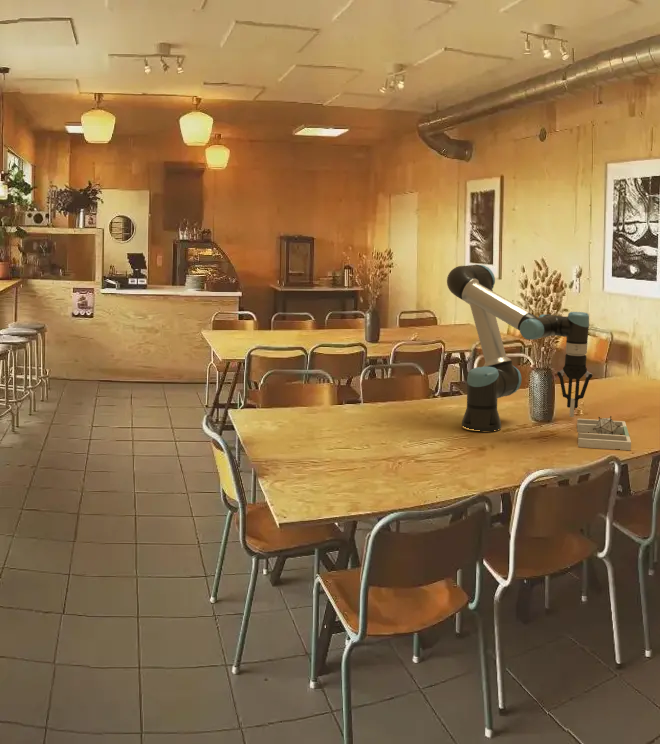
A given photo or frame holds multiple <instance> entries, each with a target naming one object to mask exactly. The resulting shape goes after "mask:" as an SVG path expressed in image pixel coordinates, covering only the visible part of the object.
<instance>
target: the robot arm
mask: <svg viewBox="0 0 660 744" xmlns="http://www.w3.org/2000/svg"><path fill="white" fill-rule="evenodd" d="M446 277H447V278H446V286H447V288H448V290H449V291H450V293H452V294H453V295H454V296H455V297H457V298H458V299H460V300H462V301H464V303H466V304H469V306H470V310H471V313H472V318H473V321H474V324H475V328H476V332H477V333H476V334H477V337H478V339H479V342H480V346H481V347H480V348H481V351H482V356H483V358H484V363H483V365H482V366H477V367H474V368H472V369H470V370H468V373H467V379H466V383H467V384H466V385H467V388H466V409H465V412H464V415H463V417H462V421H461V427H462V426H464V427H466V428H469V429H474V430H480V431H494V430H498V429H500V428H501V429H502V422H501V418H500V415H499V411H498V399H500V398H503V397H508V396H511V395H513V394H514V393H516V392H517V391H519V389H520V387H521V385H522V380H523V379H522V374H521V371H520V370H519V369H518V368H517V367H516V366H514V365H513V362H512V359H511V358H510V357H507V354H506V351H505V350H506V349H505V347H504V342H503V339H502V335H501V331H500V327H499V324H498V321H497V318H498V319H499V320H501V321H503V322H505V323H506V324H507V325H510V326H511V327H513V328H514V329H516V330H518V331H519V333H520V335H521V336H522V337H523V339H525V340H532V341H533V340H539V339H542V338H547V337H553V336H557V337H564V338H566V340H565V341H566V343H565V353H566V354H565V356H564V357H565V358H564V366H563V367H562V369H561V370H557V372H556V375H557V377H558V379H559V384H560V389H561V394H562V397H563V398H566V401H567V402H566V407H567V408H568V409H569V418H575V409H577V408H578V406H579V400H581V399H584V396H585V394H586V391H587V388H588V385H589V382H590V380H591V379H592V377H593V373H592V372H590V371H588V369H587V353H588V345H589V344H588V339H589V327H590V314H588V312H584V311H583V312H582V311H570V312H569V313H568V315H567V316H563V315H556V314H555V315H554V314H543V313H542V314H540V315H539V316H536V315H534V314H532V313H530V312H529V311H527V310H526V309H524V308H523V307H520V306H518V305H517V304H515V303H514V302H512V301H510V300H508V299H506V298H505V297H503V296H502V295H500V294H499V293H496V292H495V291H493V289H494V285H495V283H496V278H495V274H494V272H493V271H492V270H491V268H489V267H488V266H486V265H483V264H471V265H469V264H467V265H459V266H455V267H454V268H452V270H450V271H449V272H448V275H447V276H446ZM563 376H566V377H567V378H568V386H567V387H568V388H567V391H566V386H565V381H564V377H563ZM584 376H585V379H584V382H583V385H582V388H581V392H580V379H582V378H583V377H584ZM573 380H575V389H574V390H575V392H574V398H572V391H573ZM566 392H567V393H566ZM579 392H580V394H579ZM501 429H500V430H501Z"/></svg>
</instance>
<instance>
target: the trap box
mask: <svg viewBox="0 0 660 744" xmlns="http://www.w3.org/2000/svg"><path fill="white" fill-rule="evenodd" d="M598 421H599V419H589V418H577V419H576V433H577V447H578V448H587V449H590V448H591V449H600V450H601V449H602V450H603V449H604V450H615V449H620V451H630V450H631V449H632V441H631V437H630V436H631V435H630V433H629V430H628V426H627V424H626V421H624V420H613V421H614V422H615V423H616V424H617V426H620V427H618V428H617V430H616V432H615V434H614V435H611V434H599V433H598V432H597V431H596V430H595V429H594V430H593V428H595V427H596V425H597V423H598ZM588 432H589V433H588ZM620 434H623V435H620ZM631 451H632V450H631Z"/></svg>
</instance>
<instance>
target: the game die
mask: <svg viewBox="0 0 660 744" xmlns="http://www.w3.org/2000/svg"><path fill="white" fill-rule="evenodd" d="M597 418H598V420H599V421H598V423H597V425H596V427H595V428H593V430H594V429H595V430H596V431H597V432H598V433H597V434H611V435H616V434H615V432H616V430H617V428H618V427H620V426H617V424H616V423H615V422H614V421H615V420H613V419H612V416H611V415H610V417H603V418H602V417H600V416H598V417H597Z"/></svg>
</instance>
